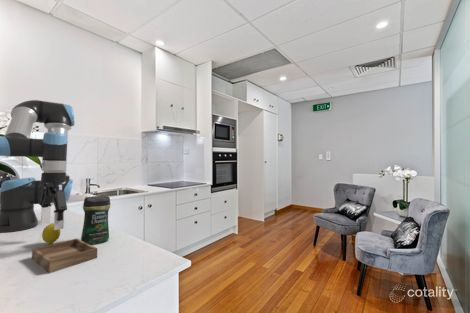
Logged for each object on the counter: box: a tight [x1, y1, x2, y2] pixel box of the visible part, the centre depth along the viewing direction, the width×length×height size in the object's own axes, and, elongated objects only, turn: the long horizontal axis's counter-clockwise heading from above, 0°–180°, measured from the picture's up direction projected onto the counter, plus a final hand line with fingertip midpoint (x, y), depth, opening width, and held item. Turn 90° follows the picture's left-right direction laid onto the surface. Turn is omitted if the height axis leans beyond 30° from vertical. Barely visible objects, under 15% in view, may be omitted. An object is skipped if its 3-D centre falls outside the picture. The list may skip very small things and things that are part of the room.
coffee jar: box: [80, 195, 111, 246], centre depth 91 cm, size 10×8×19 cm
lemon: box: [41, 222, 61, 245], centre depth 88 cm, size 6×6×8 cm
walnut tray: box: [31, 238, 98, 274], centre depth 75 cm, size 16×13×3 cm
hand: (51, 226), depth 87 cm, fingers open, 13 cm apart
